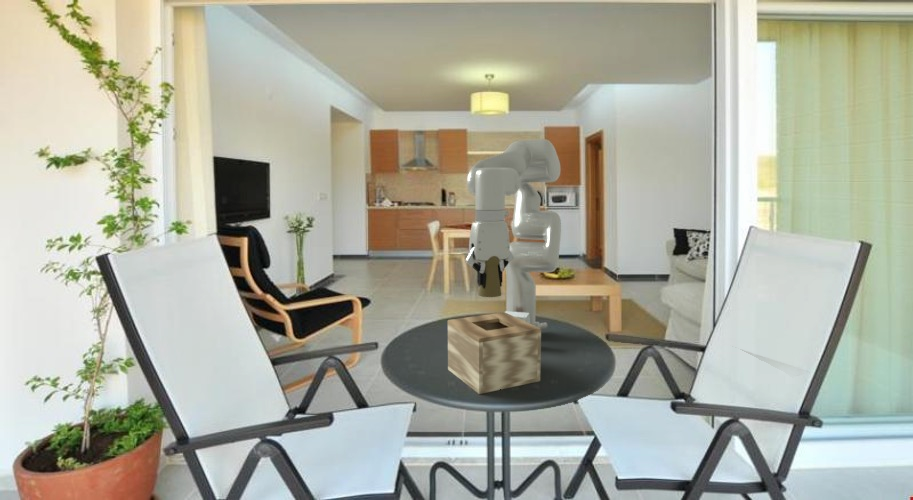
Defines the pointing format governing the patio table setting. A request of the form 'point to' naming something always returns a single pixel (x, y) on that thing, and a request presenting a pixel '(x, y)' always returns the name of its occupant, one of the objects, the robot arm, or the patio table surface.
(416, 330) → the patio table surface
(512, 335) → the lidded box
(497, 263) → the cork
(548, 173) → the robot arm
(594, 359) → the patio table surface
